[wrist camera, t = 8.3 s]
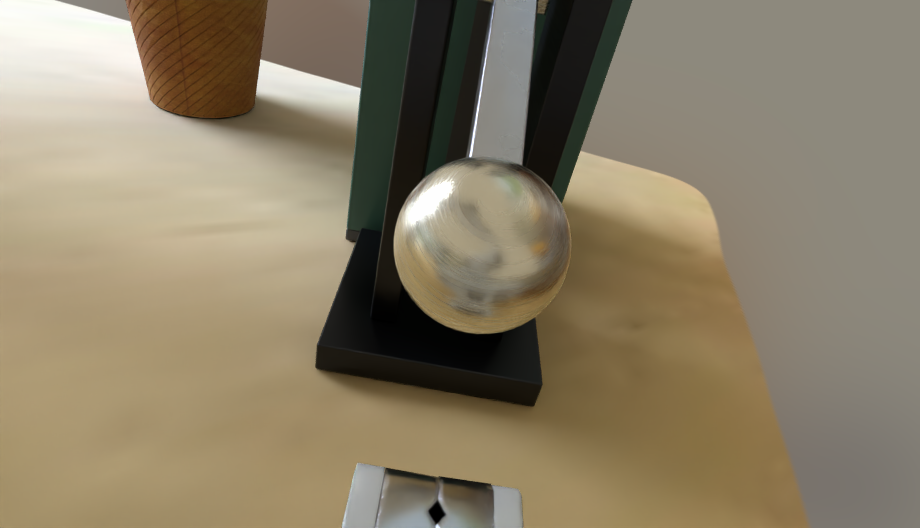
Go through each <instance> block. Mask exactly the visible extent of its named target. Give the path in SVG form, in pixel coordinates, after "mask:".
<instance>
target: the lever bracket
mask: <svg viewBox="0 0 920 528" xmlns="http://www.w3.org/2000/svg"><path fill="white" fill-rule="evenodd" d="M612 2H613V0H550V4H549V7H548V11H547V15H546V18H545V22H544V26H543V30H542V33H541V37H540V41H539V44H538V48H537V52H536V56H535V59H534V63H533V67H532V73H531V83H530V93H529V103H528V113H527V123H526V134H525V144H524V154H523V164H522V166H524V167H526V168H528V169H529V170H531V171H532V172H534V173H535V174H537V175H538V176H539V177H540V178H542V179H543V180H544V181H545V182H546V183H547V184H548V185H549V186H550V188H552V185H553V182H554V179H555V176H556V173H557V170H558V166H559V163H560V160H561V157H562V154H563V151H564V148H565V145H566V142H567V139H568V136H569V133H570V130H571V127H572V124H573V121H574V118H575V115H576V112H577V109H578V105H579V102H580V99H581V96H582V93H583V90H584V87H585V84H586V81H587V78H588V75H589V72H590V69H591V66H592V63H593V60H594V57H595V54H596V51H597V48H598V45H599V41H600V38H601V35H602V32H603V29H604V26H605V23H606V20H607V17H608V14H609V11H610V8H611V5H612ZM456 5H457V0H416V1H415V8H414V15H413V22H412V29H411V36H410V43H409V49H408V56H407V63H406V70H405V77H404V84H403V91H402V98H401V105H400V112H399V119H398V126H397V133H396V140H395V147H394V154H393V161H392V168H391V175H390V182H389V189H388V196H387V203H386V210H385V217H384V224H383V230H382V232H381V231H376V230H371V229H366V228H361V230H360V233H359V235H358V238H357V241H356V243H355V246H354V248H353V251H352V254H351V256H350V259H349V262H348V264H347V267H346V270H345V272H344V275H343V278H342V280H341V283H340V285H339V288H338V291H337V293H336V296H335V299H334V301H333V304H332V307H331V309H330V312H329V315H328V317H327V320H326V322H325V325H324V328H323V330H322V333H321V336H320V338H319V341H318V344H317V352H316V365H315V367H316V369H321V370H327V371H332V372H338V373H344V374H350V375H355V376H361V377H367V378H373V379H378V380H384V381H390V382H396V383H401V384H407V385H413V386H419V387H424V388H430V389H436V390H442V391H447V392H453V393H459V394H465V395H470V396H476V397H482V398H488V399H493V400H499V401H505V402H511V403H516V404H522V405H528V406H534V405H535V402H536V400H537V397H538V395H539V392H540V390H541V387H542V385H543V384H542V375H541V365H540V356H539V347H538V338H537V329H536V320H535V318H533V319H531V320H530V321H528V322H526V323H525V324H523V325H521V326H519V327H516V328H514V329H512V330H508V331H504V332H500V333H493V334H471V333H465V332H461V331H457V330H454V329H451V328H448V327H446V326H444V325H442V324H440V323H438V322H436V321H435V320H433V319H432V318H431V317H429V316H428V315H426V314H425V313H424V312H423V311H422V310H421V309H420V308H419V307H418V306H417V305H416V304H415V302H414V301H413V300H412V299H411V298H410V296H409V295H408V293H407V292H406V290H405V288H404V286H403V284H402V282H401V280H400V277H399V274H398V271H397V268H396V264H395V258H394V233H395V227H396V223H397V219H398V216H399V213H400V211H401V209H402V207H403V205H404V203H405V201H406V199H407V197H408V196H409V195H410V193H411V192H412V190H413V189H414V188H415V187H416V186H417V185H418V184H419V183H420V182H421V181H422V179H424V178H425V174H426V169H427V163H428V158H429V153H430V147H431V142H432V136H433V131H434V125H435V120H436V114H437V109H438V103H439V98H440V92H441V87H442V81H443V76H444V70H445V65H446V59H447V54H448V48H449V43H450V38H451V32H452V27H453V21H454V16H455V10H456Z"/></svg>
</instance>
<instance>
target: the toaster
mask: <svg viewBox="0 0 920 528" xmlns="http://www.w3.org/2000/svg"><path fill="white" fill-rule="evenodd" d="M415 1H416V0H370V2H369V12H368V22H367V32H366V42H365V52H364V62H363V72H362V81H361V82H362V83H361V91H360V101H359V111H358V121H357V131H356V141H355V151H354V161H353V171H352V181H351V191H350V200H349V210H348V220H347V230H346V239H347V240H352V241H357V238H358V235H359V233H360V230H361V228H366V229H371V230H376V231H381V232H382V230H383V224H384V217H385V210H386V203H387V196H388V189H389V182H390V175H391V168H392V161H393V154H394V147H395V140H396V133H397V126H398V119H399V112H400V105H401V98H402V91H403V84H404V77H405V70H406V63H407V56H408V49H409V43H410V36H411V29H412V22H413V15H414V8H415ZM631 3H632V0H613V2H612V5H611V8H610V11H609V14H608V17H607V20H606V23H605V26H604V29H603V32H602V35H601V38H600V41H599V45H598V48H597V51H596V54H595V57H594V60H593V63H592V66H591V69H590V72H589V75H588V78H587V81H586V84H585V87H584V90H583V93H582V96H581V99H580V102H579V105H578V109H577V112H576V115H575V118H574V121H573V124H572V127H571V130H570V133H569V136H568V139H567V142H566V145H565V148H564V151H563V154H562V157H561V160H560V163H559V166H558V170H557V173H556V176H555V179H554V182H553V185H552V188H551V189H552V190H553V191H554V193H555V194H556V196H557V197H558V199H559V201H560V202H561V204H562V202H563V199H564V196H565V193H566V191H567V188H568V185H569V182H570V179H571V176H572V173H573V170H574V167H575V165H576V162H577V159H578V156H579V153H580V150H581V147H582V144H583V141H584V139H585V135H586V132H587V130H588V127H589V124H590V121H591V118H592V115H593V113H594V109H595V106H596V104H597V101H598V98H599V95H600V92H601V89H602V86H603V83H604V81H605V78H606V75H607V72H608V69H609V66H610V63H611V61H612V58H613V55H614V52H615V49H616V46H617V43H618V40H619V37H620V35H621V32H622V29H623V26H624V23H625V20H626V17H627V14H628V11H629V9H630V6H631ZM549 4H550V2H549ZM490 6H491V3H488V2H484V1H480V0H457V5H456V10H455V16H454V21H453V27H452V32H451V38H450V43H449V48H448V54H447V59H446V65H445V70H444V76H443V81H442V87H441V92H440V98H439V103H438V109H437V114H436V120H435V125H434V131H433V136H432V142H431V147H430V153H429V158H428V163H427V169H426V174H425V177H426V176H427V175H429V174H430V173H431V172H433V171H435V170H436V169H438V168H440V167H441V166H443V165H445V164H447V163H450V162H452V161H456V160H459V159H463V158H466V154H467V148H468V142H469V136H470V130H471V123H472V117H473V111H474V105H475V99H476V92H477V86H478V80H479V74H480V68H481V61H482V55H483V49H484V43H485V37H486V30H487V24H488V18H489V12H490ZM548 7H549V5H548ZM547 11H548V8H547ZM547 11H546V13H545V15H541V14H537V22H536V32H535V42H534V53H533V63H534V59H535V56H536V52H537V48H538V44H539V41H540V37H541V33H542V30H543V26H544V22H545V18H546V15H547ZM533 63H532V67H533Z"/></svg>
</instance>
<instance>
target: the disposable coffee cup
mask: <svg viewBox="0 0 920 528" xmlns="http://www.w3.org/2000/svg"><path fill="white" fill-rule="evenodd" d="M267 2H268V0H126V4H127V8H128V12H129V16H130V20H131V24H132V29H133V33H134V36H135V40H136V44H137V47H138V52H139V55H140V59H141V63H142V67H143V71H144V75H145V79H146V84H147V87H148V91H149V96H150V100H151V101H152V102H153V103H154V104H155V105H157V106H158V107H160V108H162V109H165V110H167V111H170V112H173V113H177V114H180V115H186V116H193V117H199V118H222V117H232V116H237V115H240V114H244V113H246V112H248V111H250V110H251V109H252V108H253V107H254V105H255V96H256V88H257V80H258V73H259V66H260V57H261V50H262V41H263V34H264V26H265V19H266V10H267Z"/></svg>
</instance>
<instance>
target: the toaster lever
mask: <svg viewBox="0 0 920 528" xmlns="http://www.w3.org/2000/svg"><path fill="white" fill-rule="evenodd" d="M480 1H484V2H488V3H491V6H490V12H489V18H488V24H487V30H486V37H485V43H484V49H483V55H482V61H481V68H480V74H479V80H478V86H477V92H476V99H475V105H474V111H473V117H472V123H471V130H470V136H469V142H468V148H467V154H466V158H463V159H459V160H456V161H452V162H450V163H447V164H445V165H443V166H441V167H440V168H438V169H436V170H435V171H433V172H431V173H430V174H429V175H427V176H426V177H425V178H424V179H422V181H421V182H420V183H419V184H418V185H417V186H416V187H415V188H414V189H413V190H412V192H411V193H410V195H409V196H408V197H407V199H406V201H405V203H404V205H403V207H402V209H401V211H400V213H399V216H398V219H397V223H396V227H395V233H394V258H395V264H396V268H397V271H398V274H399V277H400V280H401V282H402V284H403V286H404V288H405V290H406V292H407V293H408V295H409V296H410V298H411V299H412V300H413V301H414V302H415V304H416V305H417V306H418V307H419V308H420V309H421V310H422V311H423V312H424V313H425V314H426V315H428V316H429V317H431V318H432V319H433V320H435V321H436V322H438V323H440V324H442V325H444V326H446V327H448V328H451V329H454V330H457V331H461V332H465V333H471V334H493V333H500V332H504V331H508V330H512V329H514V328H516V327H519V326H521V325H523V324H525V323H526V322H528V321H530V320H531V319H533V318H535V317H536V316H537V315H538V314H539V313H541V312H542V311H543V310H544V309H545V308H546V307H547V306H548V305H549V304H550V303H551V301H552V300H553V299H554V298H555V296H556V295H557V293H558V291H559V290H560V288H561V286H562V284H563V282H564V280H565V278H566V275H567V271H568V267H569V264H570V259H571V232H570V226H569V222H568V219H567V216H566V213H565V210H564V208H563V206H562V204H561V202H560V201H559V199H558V197H557V196H556V194H555V193H554V191H553V190H552V189H551V188H550V186H549V185H548V184H547V183H546V182H545V181H544V180H543V179H542V178H540V177H539V176H538V175H537V174H535V173H534V172H532V171H531V170H529V169H528V168H526V167H524V166H522V164H523V154H524V144H525V134H526V123H527V113H528V103H529V93H530V83H531V73H532V63H533V53H534V42H535V32H536V22H537V14H541V15H545V13H546V11H547V8H548V5H549V2H550V0H480Z"/></svg>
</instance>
